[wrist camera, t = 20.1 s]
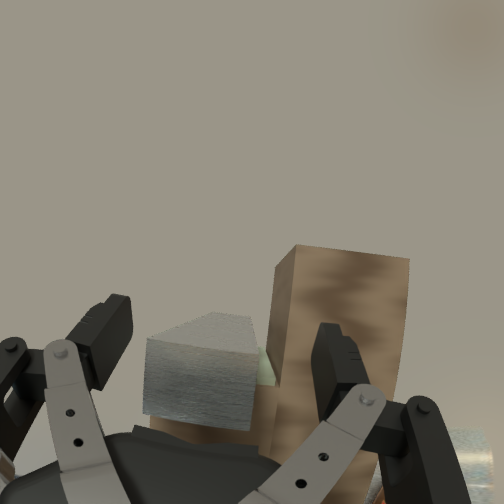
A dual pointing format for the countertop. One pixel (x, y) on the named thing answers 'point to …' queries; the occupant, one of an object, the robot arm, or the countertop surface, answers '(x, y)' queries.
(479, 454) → the countertop surface
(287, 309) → the walnut stand
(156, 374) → the steel bar
